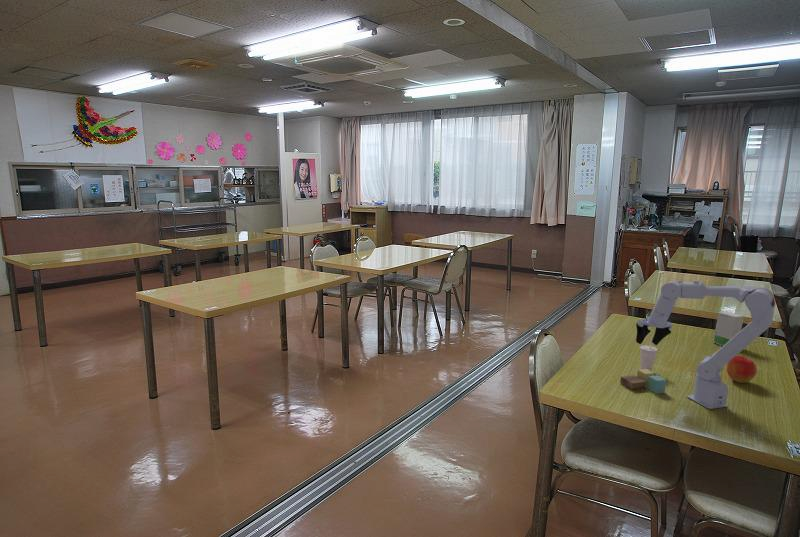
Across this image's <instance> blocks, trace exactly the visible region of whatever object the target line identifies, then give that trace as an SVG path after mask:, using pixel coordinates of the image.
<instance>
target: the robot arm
mask: <svg viewBox="0 0 800 537" xmlns="http://www.w3.org/2000/svg"><path fill="white" fill-rule="evenodd" d="M707 296H709V297H721V298H722V297H723V298H734V299H735V300H736V301H738V302H739V303H741V304H743V303H744V304H745V306H746V308H747V309H748V311H749V312H750V316H751V321H750V322H748V324H747V325H746V326H745V327H743V328H741V331H740V332H739V333H737V334H736V335H735V336H734V337H733V338H732V339H731V340H729V341H728V342H727V343H726V344H725V345H724V346H721V347H720V348H719V349H718V350H716V351H715V352H714V353H713V354H711V355H707V356H705V357H704V358H703V359H702V361H700V362H699V363H698V364H697V365H696V368H695V371H696V374H695V380H694V388H693V392H692V393H693V394H689V395H686V397H687V399H690V400H692V401H693V402H696V403H697V404H699V405H700V406H701V405H702V406H703V407H705V408H707V409H709V410H711V409H720V408H725V407H728V406H729V405H728V404H727V399H728V396H729V394H728V393H729V388H728V385H727V384H726V383H724V382H723V381H722V376H721V375H720V372H722V371H723V369H724V367H725V366H727V363H728V362H729V361H730V360H731V359H732V358H733V357H735V356H738V354H739V353H741V352H742V351H743V350H745V348H746V347H748V346H749V345H750V344H751V343H753V342H754V341H755V340H756V339H758V337H760V336H761V335H762V334H763V333H764V332H765V331H767V330H768V329H769V328H770V327H771V325H772V324H773V322H774V321H773V320H774V313H775V308H776V303H777V302H776V299H775V297H774V293H773V292H772V291H771V290H770V289H768V288H765V287H757V288H756V287H755V286H744V285H742V286H739V285H738V286H737V285H732V286H731V285H726V286H725V285H724V286H723V285H722V286H721V285H720V286H719V285H718V286H717V285H714V286H711V285H710V286H709V285H706V284H705V283H704V282H702V281H701V282H700V280H693V281H692V282H691V281H682V280H678V281H676V280H671V281H668V282H667V283H664V284H663V285H662V286H661V288H660V294H659V296H658V298H657V300H656V302H655V303H654V305H653V308H652V310H651V312H650V315H649V316H646V318H644V319H643V318H642V319H638V321H637V322H636V324H635V327H636V338H635V342H636V343H637V344H638V345H642V343H643V342H644V340H645V339H646V337H647V335H649V333H651V330H650V329H649V327H653V328H655V331H654V335H653V337H652V344H653V345H655V346H658V344H659V343H660V342H661V341H662V340H663V339H665V337H667V336H669V335H670V334H671V333H672V331H671V330H672V329H673V327H674V324H673V323H672V322H670V321H668V320H669V318H670V315H671V313H672V312H673V309H674V307H675V305H676V302H677V300H678V298H681V299H689V300H690V299H692V300H693V299H694V300H697V299H698V300H702V299H704V298H706V297H707Z"/></svg>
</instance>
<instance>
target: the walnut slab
mask: <svg viewBox="0 0 800 537" xmlns="http://www.w3.org/2000/svg"><path fill="white" fill-rule="evenodd" d="M619 380H620V382H619V383H620V384H621V385H622V384H623V385H622V386H624V387H625V388H627V389H628V390H631V391H634V390H636V391H637V390H643V389H644V388H645V389H646V386H645V385H646V381H644V380H642V379H640V378H638V377H637V375H635V374H632V375H622V376H621V375H620V379H619Z"/></svg>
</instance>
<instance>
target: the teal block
mask: <svg viewBox="0 0 800 537" xmlns="http://www.w3.org/2000/svg"><path fill="white" fill-rule="evenodd" d="M666 384H667V379H665V377H664V378H663V377H661V376H660V375H658V374H657V375H654V376H649V379H648V386H646V387H647V388H646V389H647V390H648V389H649V390H648V391H650V392H651V393H654V395H655V394H656V393H657V394H662V393H665V392H666ZM657 394H656V395H657Z"/></svg>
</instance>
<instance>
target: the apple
mask: <svg viewBox="0 0 800 537" xmlns="http://www.w3.org/2000/svg"><path fill="white" fill-rule="evenodd" d="M757 372H758V370H757V365H756V363H755V362H754V361H753V360H752V359H749V358H748V357H745V356H741V355H736V356H735V357H733V358H732V359H731V360H730V361H729V362H728V363H727V364H726V373H727V374H728V376H729V378H730V379H732V380H733V381H734V382H737V383H739V384H742V383H747V382H750V381H752V380H753V379H754V378H755V376H756V375H757Z"/></svg>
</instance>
